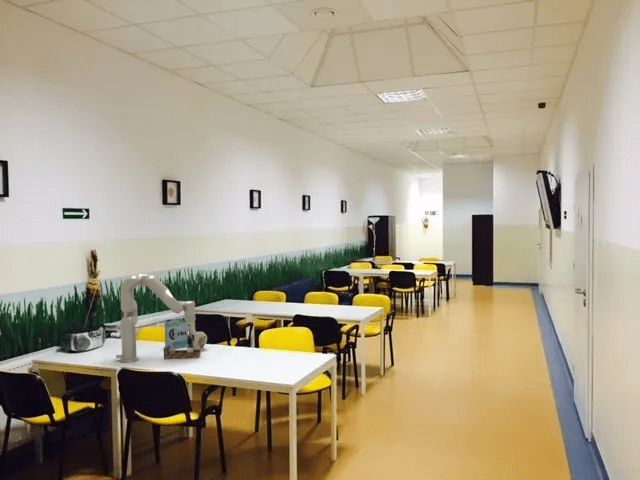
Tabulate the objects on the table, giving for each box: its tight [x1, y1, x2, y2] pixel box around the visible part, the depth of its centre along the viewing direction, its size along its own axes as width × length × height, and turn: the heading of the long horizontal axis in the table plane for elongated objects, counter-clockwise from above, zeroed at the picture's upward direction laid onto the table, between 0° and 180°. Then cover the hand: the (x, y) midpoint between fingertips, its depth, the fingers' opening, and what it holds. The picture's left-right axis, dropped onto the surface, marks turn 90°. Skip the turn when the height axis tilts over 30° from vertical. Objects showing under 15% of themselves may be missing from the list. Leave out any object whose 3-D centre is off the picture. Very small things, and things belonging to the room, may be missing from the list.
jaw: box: [186, 335, 195, 353], centre depth 390 cm, size 4×7×13 cm, turn 3°
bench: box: [163, 345, 202, 360], centre depth 390 cm, size 24×10×8 cm, turn 93°
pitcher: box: [193, 331, 208, 352], centre depth 410 cm, size 11×18×14 cm, turn 149°
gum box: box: [164, 316, 188, 350], centre depth 420 cm, size 20×5×23 cm, turn 127°
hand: (190, 342), depth 390 cm, fingers open, 9 cm apart
